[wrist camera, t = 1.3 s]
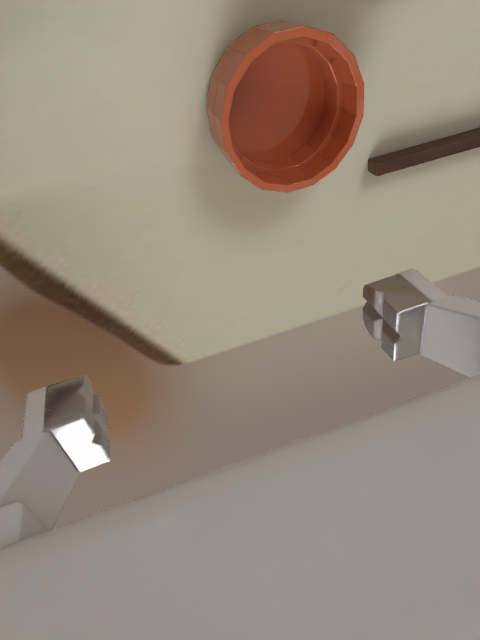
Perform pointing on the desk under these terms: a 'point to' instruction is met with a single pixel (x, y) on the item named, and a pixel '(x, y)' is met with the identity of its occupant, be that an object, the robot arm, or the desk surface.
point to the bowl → (285, 104)
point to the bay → (424, 152)
